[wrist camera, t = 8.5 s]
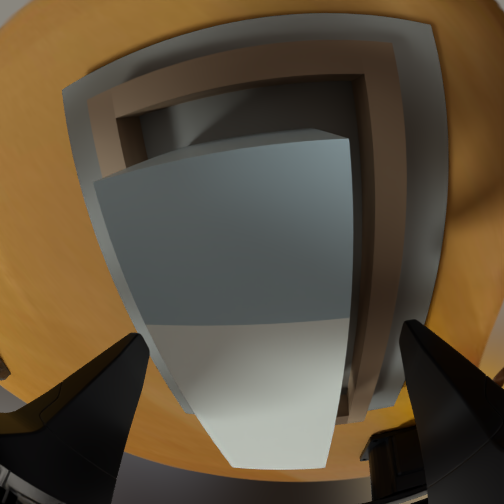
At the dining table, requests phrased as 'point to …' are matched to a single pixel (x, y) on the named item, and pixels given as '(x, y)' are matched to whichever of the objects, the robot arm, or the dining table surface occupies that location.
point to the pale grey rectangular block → (245, 283)
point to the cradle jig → (289, 118)
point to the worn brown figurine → (3, 371)
